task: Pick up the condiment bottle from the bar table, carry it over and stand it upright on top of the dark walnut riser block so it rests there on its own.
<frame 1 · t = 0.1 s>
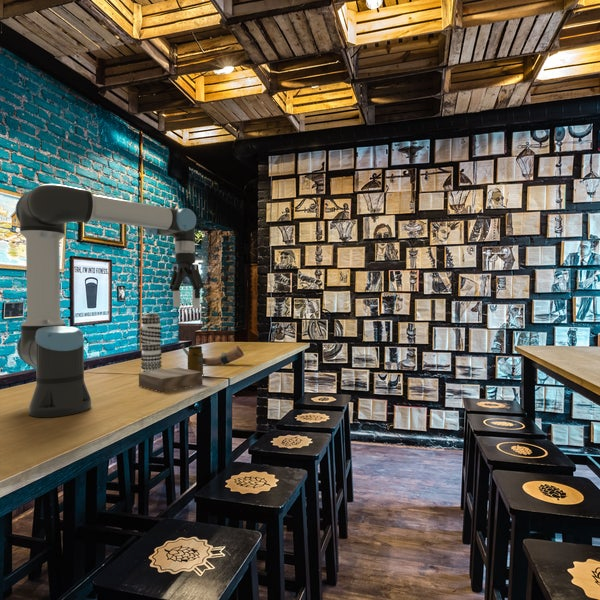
hand: (186, 307, 163), 28 cm above the table, tool pointing down, fingers open, 13 cm apart
drinking horn: (212, 365, 194), on the table
walnut riser: (170, 386, 149), on the table
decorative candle: (151, 370, 182), on the table
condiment: (196, 376, 167), on the table
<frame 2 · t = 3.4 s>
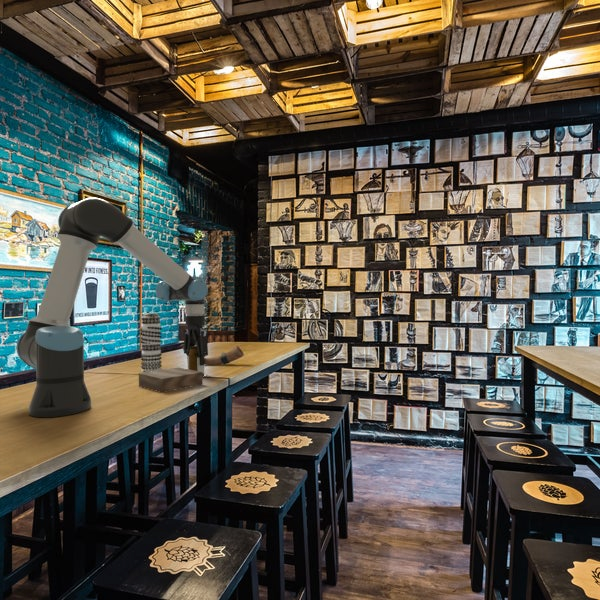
hand: (195, 372, 167), 1 cm above the table, tool pointing down, fingers closed on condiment, 6 cm apart
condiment: (197, 376, 166), on the table, touching gripper
everything else where it was.
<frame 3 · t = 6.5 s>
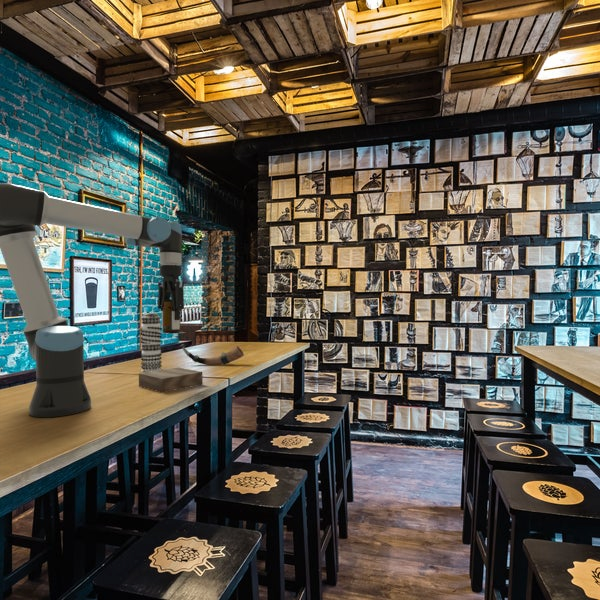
hand: (170, 328, 150), 20 cm above the table, tool pointing down, fingers closed on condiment, 6 cm apart
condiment: (172, 333, 150), point 19 cm above the table, touching gripper
everything else where it was.
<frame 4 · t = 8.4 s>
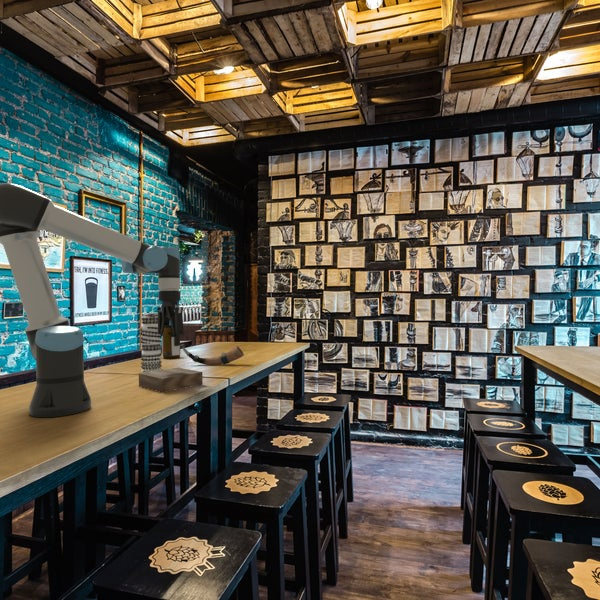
hand: (170, 354, 149), 11 cm above the table, tool pointing down, fingers closed on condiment, 6 cm apart
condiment: (172, 359, 149), point 10 cm above the table, touching gripper
everything else where it was.
when the fingers open (8 cm above the table, at t = 9.8 s): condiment drops 2 cm, resting on walnut riser.
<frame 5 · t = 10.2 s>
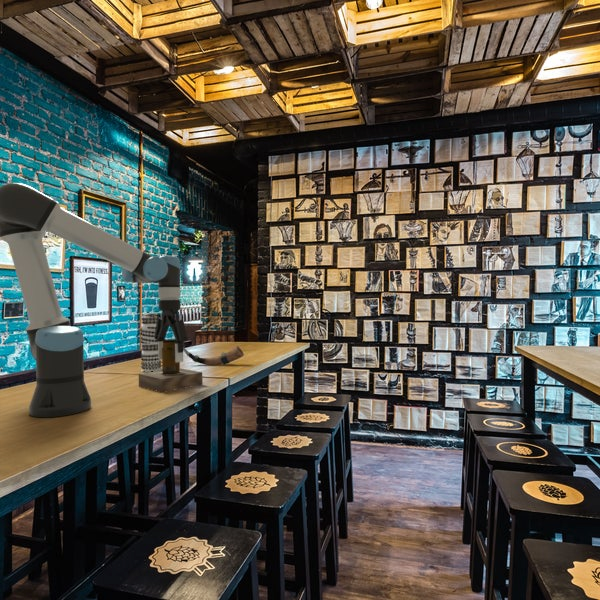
hand: (170, 360, 149), 9 cm above the table, tool pointing down, fingers open, 11 cm apart
walnut riser: (170, 386, 149), on the table, touching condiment
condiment: (171, 373, 149), point 4 cm above the table, touching walnut riser
everything else where it was.
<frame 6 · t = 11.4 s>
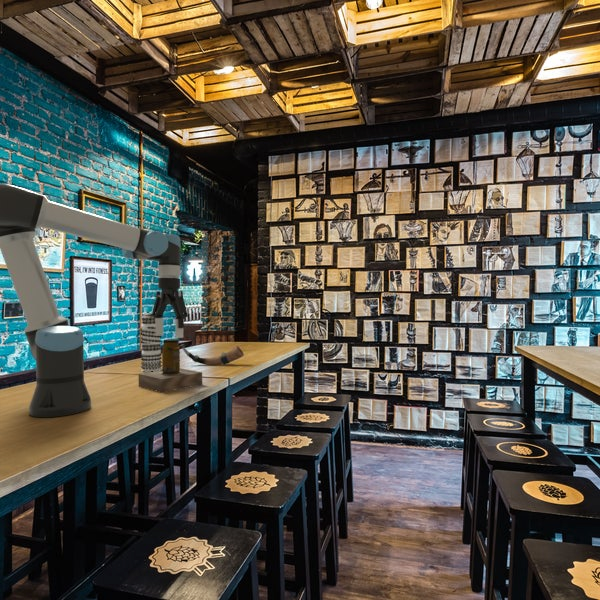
hand: (169, 336, 149), 18 cm above the table, tool pointing down, fingers open, 13 cm apart
nothing on the table moved.
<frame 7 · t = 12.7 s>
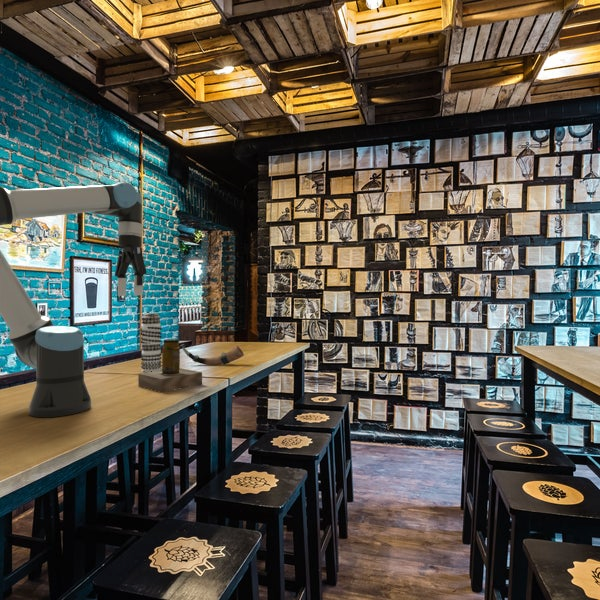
hand: (129, 295, 146), 32 cm above the table, tool pointing down, fingers open, 13 cm apart
nothing on the table moved.
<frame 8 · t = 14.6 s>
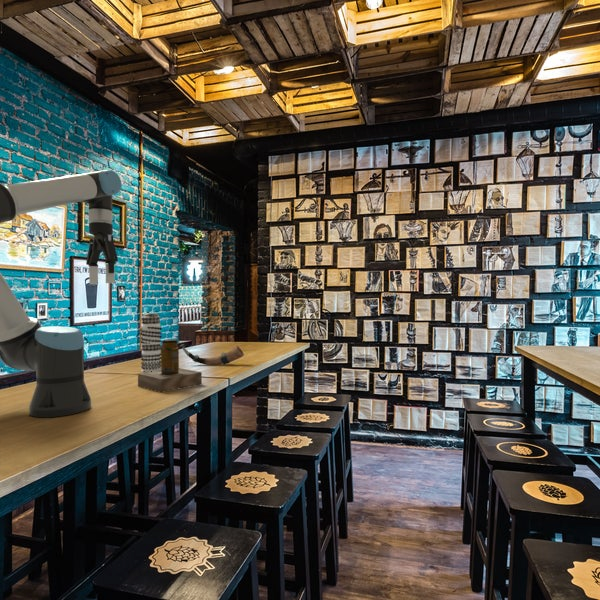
hand: (101, 283, 145), 37 cm above the table, tool pointing down, fingers open, 13 cm apart
nothing on the table moved.
at the end: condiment inside the target area on the walnut riser (1.8 cm from its centre), point 4.8 cm above the walnut riser's base; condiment tilted 0°; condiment touching walnut riser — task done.
